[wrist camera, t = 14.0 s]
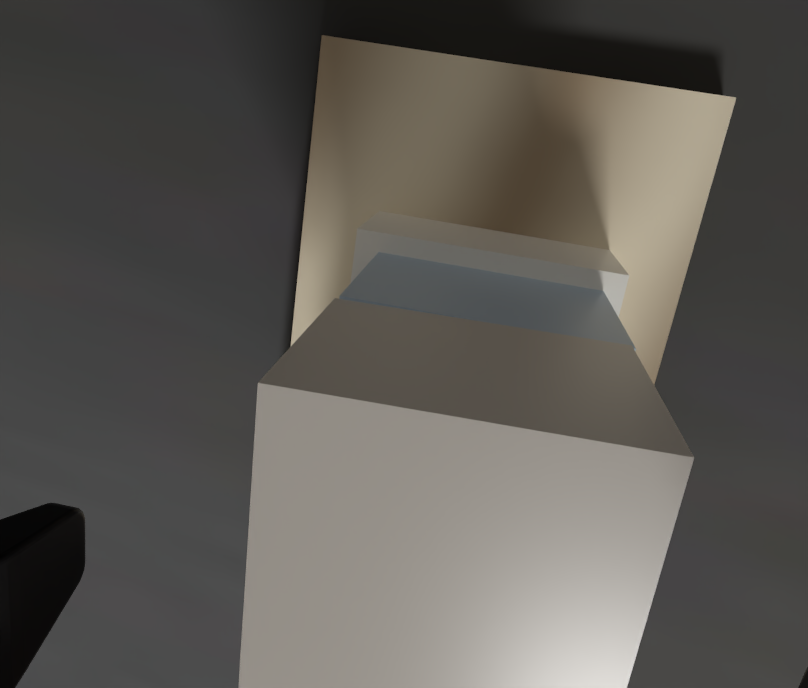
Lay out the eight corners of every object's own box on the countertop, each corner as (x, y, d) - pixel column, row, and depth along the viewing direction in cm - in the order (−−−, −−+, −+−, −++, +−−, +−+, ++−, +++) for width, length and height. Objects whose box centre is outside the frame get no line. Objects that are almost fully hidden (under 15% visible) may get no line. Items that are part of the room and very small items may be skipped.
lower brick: (609, 249, 18) (629, 275, 15) (558, 457, 20) (567, 514, 17) (379, 211, 18) (357, 228, 16) (351, 417, 20) (327, 466, 18)
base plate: (723, 98, 17) (736, 97, 17) (592, 567, 22) (596, 588, 21) (330, 39, 18) (321, 35, 17) (282, 504, 23) (273, 521, 22)
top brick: (631, 345, 12) (693, 457, 8) (570, 595, 13) (596, 789, 9) (334, 298, 12) (257, 382, 8) (310, 546, 14) (237, 711, 10)
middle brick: (603, 290, 15) (636, 348, 12) (554, 490, 17) (569, 597, 13) (378, 251, 16) (339, 295, 12) (351, 450, 17) (310, 543, 14)
